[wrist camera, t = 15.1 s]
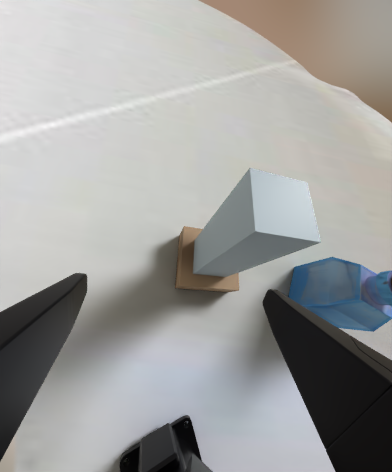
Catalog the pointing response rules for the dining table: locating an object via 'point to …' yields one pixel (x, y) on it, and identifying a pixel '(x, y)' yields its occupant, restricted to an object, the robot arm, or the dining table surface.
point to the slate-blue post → (256, 225)
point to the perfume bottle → (344, 293)
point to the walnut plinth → (185, 268)
